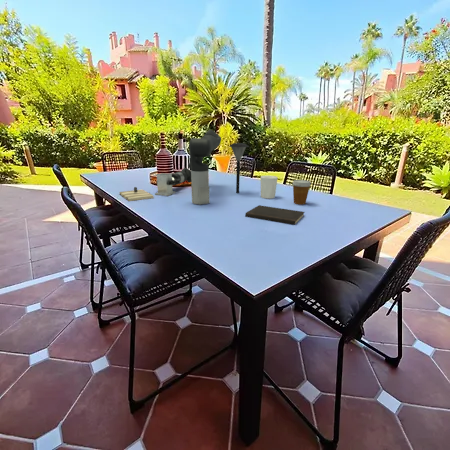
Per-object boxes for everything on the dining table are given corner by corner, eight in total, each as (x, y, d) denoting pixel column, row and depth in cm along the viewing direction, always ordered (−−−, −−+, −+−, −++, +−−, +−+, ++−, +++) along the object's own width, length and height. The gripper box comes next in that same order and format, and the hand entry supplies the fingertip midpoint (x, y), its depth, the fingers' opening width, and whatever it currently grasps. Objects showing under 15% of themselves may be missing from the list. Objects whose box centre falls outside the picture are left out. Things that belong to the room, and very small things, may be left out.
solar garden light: (247, 191, 175) (249, 143, 165) (247, 195, 164) (249, 143, 154) (228, 190, 176) (229, 142, 166) (227, 195, 165) (227, 143, 155)
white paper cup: (277, 199, 156) (278, 178, 152) (260, 198, 156) (261, 178, 152) (274, 195, 165) (276, 175, 161) (258, 195, 165) (259, 175, 161)
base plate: (153, 198, 156) (152, 188, 154) (128, 201, 148) (127, 191, 147) (142, 191, 171) (141, 183, 170) (119, 194, 164) (118, 185, 162)
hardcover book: (258, 209, 137) (258, 205, 136) (304, 216, 127) (304, 211, 126) (245, 217, 124) (245, 212, 123) (294, 226, 113) (295, 221, 113)
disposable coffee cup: (288, 204, 146) (290, 181, 142) (293, 200, 154) (295, 179, 150) (306, 206, 142) (309, 183, 138) (310, 202, 149) (312, 180, 146)
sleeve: (175, 192, 169) (174, 173, 165) (168, 195, 161) (166, 175, 157) (162, 191, 172) (161, 172, 168) (155, 194, 164) (153, 174, 160)
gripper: (166, 172, 178) (152, 176, 164) (185, 173, 174) (173, 177, 159) (167, 183, 181) (153, 188, 166) (186, 185, 176) (174, 190, 162)
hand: (163, 182), depth 163 cm, fingers open, 8 cm apart
